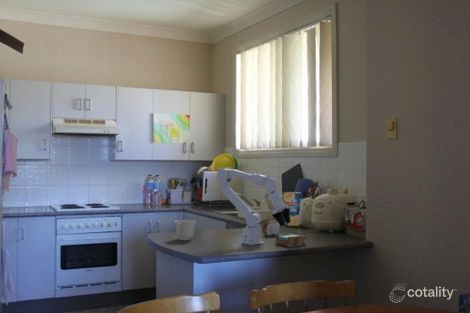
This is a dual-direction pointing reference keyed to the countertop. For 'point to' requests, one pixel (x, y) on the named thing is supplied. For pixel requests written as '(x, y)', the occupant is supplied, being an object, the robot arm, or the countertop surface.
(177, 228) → the teacup
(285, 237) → the cover plate
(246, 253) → the countertop surface
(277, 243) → the box
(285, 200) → the beverage box
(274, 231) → the tin
